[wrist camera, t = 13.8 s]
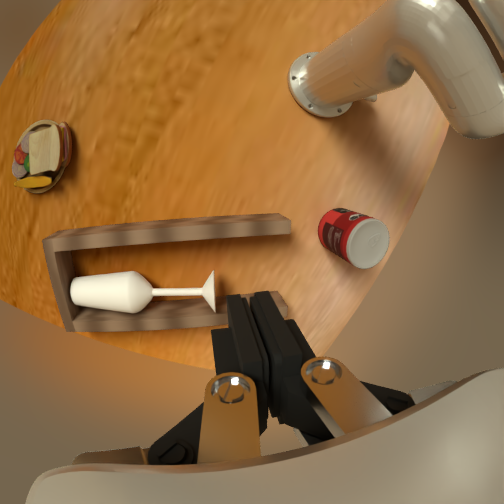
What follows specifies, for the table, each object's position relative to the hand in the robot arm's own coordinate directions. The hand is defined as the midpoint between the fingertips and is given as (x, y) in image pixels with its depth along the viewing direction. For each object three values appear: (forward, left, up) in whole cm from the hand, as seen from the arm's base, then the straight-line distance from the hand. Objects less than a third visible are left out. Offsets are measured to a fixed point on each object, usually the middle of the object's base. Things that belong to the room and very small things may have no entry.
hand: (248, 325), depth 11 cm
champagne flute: (-1, +12, -29) cm, 31 cm away
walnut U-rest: (+7, +10, -33) cm, 36 cm away
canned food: (-23, +5, -34) cm, 41 cm away
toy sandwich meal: (+28, -12, -34) cm, 46 cm away
